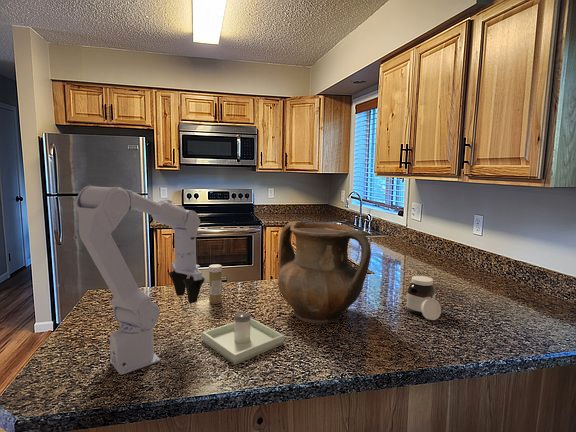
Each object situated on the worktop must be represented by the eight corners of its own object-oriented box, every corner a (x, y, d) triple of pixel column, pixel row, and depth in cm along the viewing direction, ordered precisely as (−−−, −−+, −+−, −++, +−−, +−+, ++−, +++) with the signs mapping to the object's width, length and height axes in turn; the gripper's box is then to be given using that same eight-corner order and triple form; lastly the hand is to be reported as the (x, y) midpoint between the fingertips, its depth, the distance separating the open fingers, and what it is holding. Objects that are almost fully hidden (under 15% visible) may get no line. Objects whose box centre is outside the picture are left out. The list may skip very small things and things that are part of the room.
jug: (257, 322, 111) (257, 227, 107) (288, 293, 137) (289, 216, 133) (362, 340, 100) (367, 236, 96) (374, 305, 126) (378, 222, 122)
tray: (235, 364, 87) (234, 355, 86) (202, 340, 99) (202, 332, 98) (283, 344, 98) (284, 335, 97) (249, 324, 109) (249, 317, 109)
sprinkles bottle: (210, 299, 129) (209, 263, 128) (222, 299, 130) (222, 263, 128) (208, 304, 125) (208, 267, 123) (221, 304, 125) (221, 267, 124)
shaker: (241, 345, 95) (241, 320, 94) (230, 339, 98) (230, 315, 97) (253, 339, 98) (253, 315, 97) (243, 334, 101) (243, 311, 100)
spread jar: (416, 304, 128) (418, 273, 127) (448, 313, 120) (450, 280, 119) (399, 313, 120) (401, 280, 118) (432, 324, 112) (435, 288, 110)
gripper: (211, 254, 97) (212, 302, 99) (186, 246, 108) (187, 289, 110) (187, 258, 93) (188, 308, 94) (164, 249, 103) (165, 294, 105)
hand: (186, 298), depth 102 cm, fingers open, 7 cm apart
